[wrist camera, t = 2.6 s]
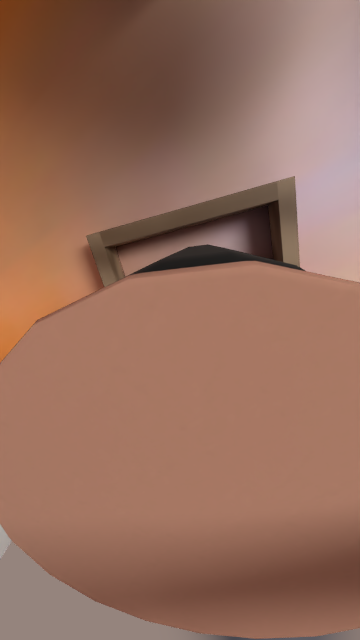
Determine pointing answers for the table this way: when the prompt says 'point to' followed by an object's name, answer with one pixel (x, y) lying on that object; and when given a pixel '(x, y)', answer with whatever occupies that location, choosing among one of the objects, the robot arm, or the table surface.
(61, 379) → the coffee jar
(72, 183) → the table surface
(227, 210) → the holder
